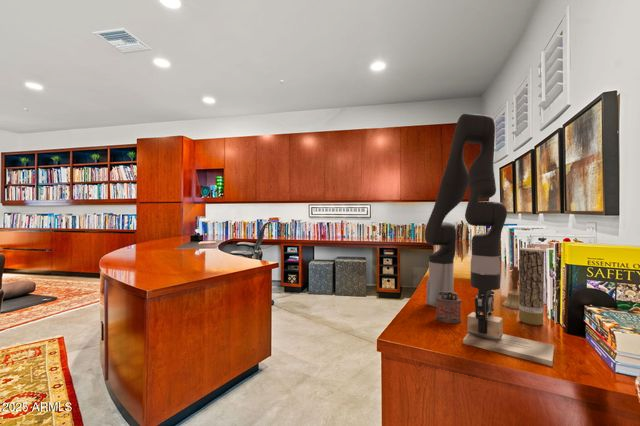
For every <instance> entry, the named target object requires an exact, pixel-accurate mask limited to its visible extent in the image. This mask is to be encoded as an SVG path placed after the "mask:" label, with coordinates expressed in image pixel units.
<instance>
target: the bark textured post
mask: <svg viewBox="0 0 640 426" xmlns="http://www.w3.org/2000/svg"><path fill="white" fill-rule="evenodd" d="M544 250H545V249H544V248H537V247H536V248H535V247H519V279H518V281H519V284H518V286H519V287H518V288H519V289H518V290H519V291H518V292H519V309H518V319H519V321H520V322H522V323H524V324H527V325H531V326H541V325H543V324H544V300H545V299H544V297H545V296H544V294H545V293H544V290H545V288H544V286H545V285H544V282H545V281H544V280H545V279H544V278H545V277H544V276H545V251H544Z"/></svg>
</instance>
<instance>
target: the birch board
mask: <svg viewBox="0 0 640 426" xmlns="http://www.w3.org/2000/svg"><path fill="white" fill-rule="evenodd" d="M462 344H463V345H467V346H473V347H477V348H479V349H484V350H488V351H491V352H496V353H500V354H503V355H508V356H510V357H515V358H518V359H523V360H527V361H531V362H535V363H539V364H543V365H545V366H550V367H553V361H554V356H555V355H554V354H555V345H554V344H550V343H546V342H541V341H537V340H531V339H527V338H522V337H519V336H513V335H509V334H505V333H503V336H502V337H501V338H500V340H499V341H497V340H493V339H489V338H485V337H481V336H477V335H473V334H469V333H467V334H466V335H465V337H463V339H462Z"/></svg>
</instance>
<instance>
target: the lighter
mask: <svg viewBox="0 0 640 426" xmlns="http://www.w3.org/2000/svg"><path fill="white" fill-rule="evenodd" d="M458 294H459V293H457V292H453V293H452V292H451V291H448V292H446V291H438V295H442V297H436V307H435V308H436V311H435V314H436V315H435V320H436V321H438V322H443V323H444V322H445V323H452V324H461V323H462V317H461V316H462V315H461V314H462V313H461V312H462V306H461V305H462V299H460V298H458V297H459V296H458ZM444 295H445V296H446V297H445V296H444Z"/></svg>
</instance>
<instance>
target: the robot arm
mask: <svg viewBox="0 0 640 426" xmlns="http://www.w3.org/2000/svg"><path fill="white" fill-rule="evenodd" d="M456 122H457V123H456V124H455V128H454V131H453V132H454V133H453V138H452V143H451V147H450V152H449V155H448V158H447V159H448V160H447V162H446V166H445V169H444V172H443V175H442V178H441V181H440V185H439V188H438V193H437V197H436V199H435V202H434V206H433V208H432V211H431V214H430V216H429V218H428V220H427V223H426V226H425V229H424V240H425V242H426V244H428V245H431V246H440V248H439V249H438V250H437V251H434V252H432V253H430V254H429V255H428V279H427V281H426V305H428V306H431V307H433V308H436V297H442V295H438V291H446V292H448V291H451V292H452V293H454V266H455V265H454V259H455V256H456V245H457V231H456V226H455V225H454V223H452V222H449V221H448V222H447V221H444V220H445V218H446V217H447V216H448V214H449V213H451V212H452V211H453V210H454V209H455V208H456V207H457V206H458V205H459V204H460V203H461V202H462V201H463V200H464V198H465V197H466V194H467V192H468V191H467V190H468V188H469V193H468V194H469V195H468V202H467V205H466V209H465V213H464V219H465V221H466V222H467V224H469V225H470V226H473V227H490V228H489V230H488V231H487V232H485V233H480V234H479V233H478V234H475V235H472V238H471V258H470V286H471V287H472V288H475V289H477V290H478V292H477V293H476V295H475V298H474V309H475V310H474V311H475V313H476V316H475V317H476V319H478V332H479V333H482V334H487V320H488V315H490V316H493V312H494V310H495V309H494V301H495V291H497V290H500V288H501V260H500V240H501V236H502V232H503V228H504V225H505V222H506V219H507V215H508V209H507V208H506V206H505V204H504V203H502V202H501V201H483V200H486V199H489V198H492V197H494V196H495V194H496V193H497V185H496V178H495V172H494V170H495V167H494V156H495V146H496V145H495V142H496V140H495V139H496V138H495V137H496V124H495V123H496V122H495V119H494V117H493V116H491V115H486V114H477V113H476V114H475V113H463V114H461V115H460V117H459V118H458V120H457V121H456ZM465 143H467V144H475V145H476V144H478V145H480V152H479V154H478V155H477V157H476V158H475V160H474V161H473V162H472V164H471V165H470V167H469V171H468V167H467V165H466V163H465V159H464V148H465ZM444 296H445V295H444ZM445 297H446V296H445ZM480 314H483V315H480Z"/></svg>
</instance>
